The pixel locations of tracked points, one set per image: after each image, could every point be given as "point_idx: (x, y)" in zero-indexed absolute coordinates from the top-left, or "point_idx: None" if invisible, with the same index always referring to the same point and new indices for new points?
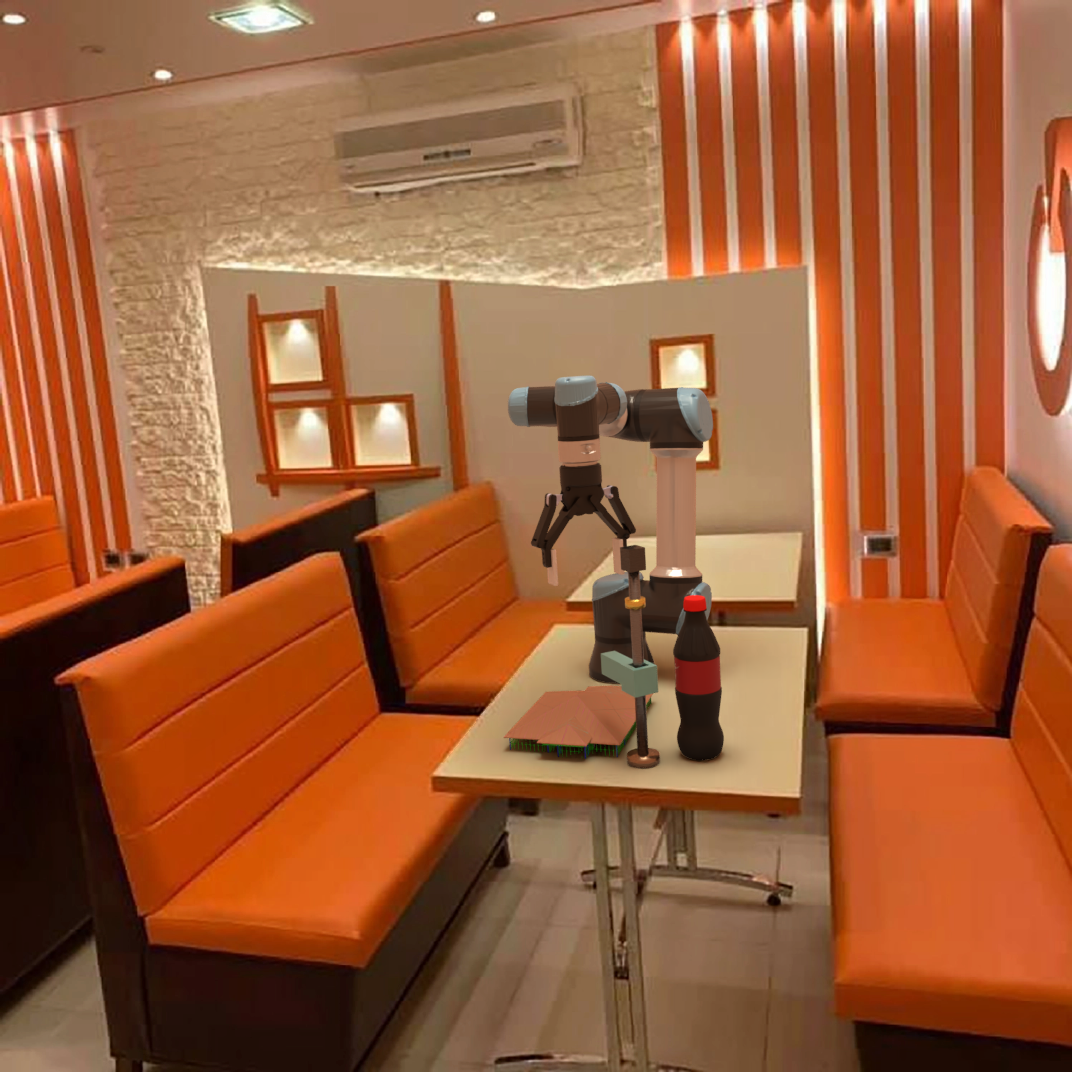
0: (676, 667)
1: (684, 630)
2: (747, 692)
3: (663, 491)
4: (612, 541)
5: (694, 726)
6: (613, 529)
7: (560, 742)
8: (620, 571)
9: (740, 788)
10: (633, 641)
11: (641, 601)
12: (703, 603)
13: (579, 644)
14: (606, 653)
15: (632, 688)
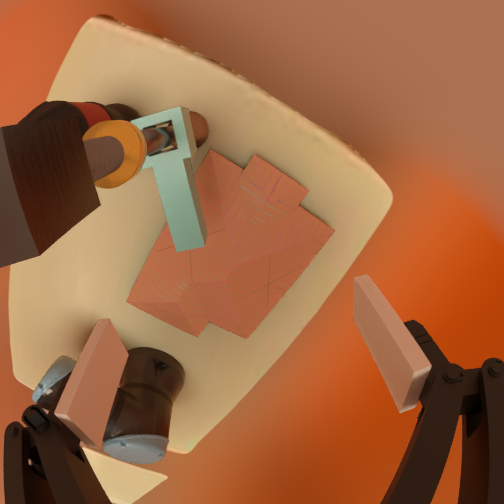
0: None
1: None
2: (45, 280)
3: None
4: (102, 436)
5: (117, 111)
6: (79, 467)
7: (283, 176)
8: (107, 327)
9: (119, 37)
10: (157, 134)
11: (97, 123)
12: None
13: (180, 428)
14: (194, 243)
15: (187, 115)
